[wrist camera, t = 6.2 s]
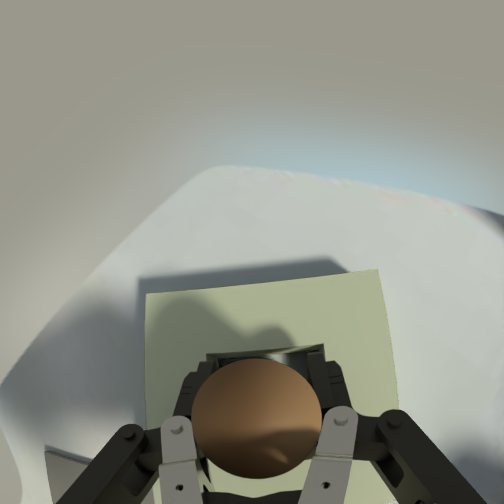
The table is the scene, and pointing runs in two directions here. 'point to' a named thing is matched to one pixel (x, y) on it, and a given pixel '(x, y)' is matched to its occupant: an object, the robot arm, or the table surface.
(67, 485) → the rubber mat
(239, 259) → the table surface
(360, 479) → the collar block
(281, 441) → the walnut pin
